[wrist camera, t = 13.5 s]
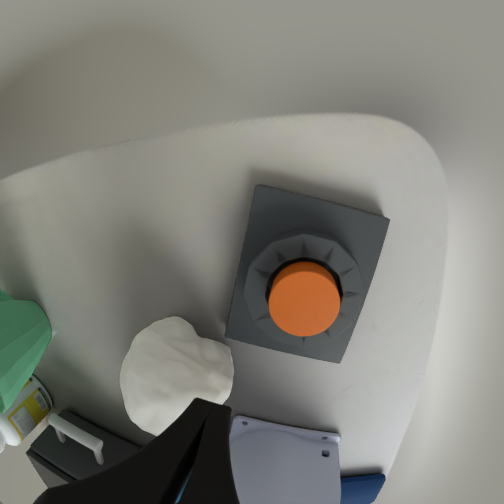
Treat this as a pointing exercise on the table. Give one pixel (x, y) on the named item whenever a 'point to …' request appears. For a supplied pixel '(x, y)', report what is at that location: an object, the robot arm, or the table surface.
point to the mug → (19, 344)
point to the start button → (304, 299)
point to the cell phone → (361, 489)
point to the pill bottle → (24, 413)
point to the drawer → (79, 446)
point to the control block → (298, 250)
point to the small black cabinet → (51, 473)
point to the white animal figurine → (172, 373)
